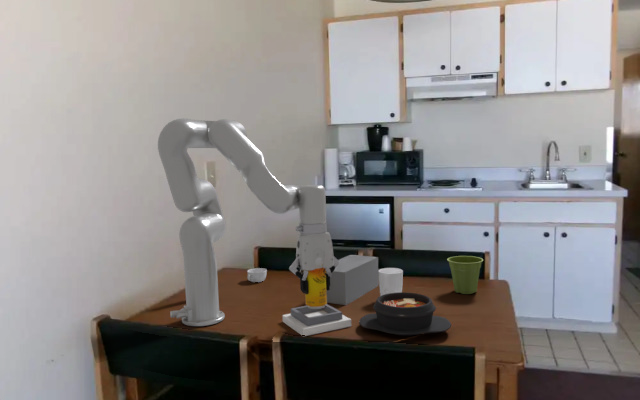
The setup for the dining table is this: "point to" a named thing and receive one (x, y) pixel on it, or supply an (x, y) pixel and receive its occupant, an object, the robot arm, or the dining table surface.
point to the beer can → (316, 286)
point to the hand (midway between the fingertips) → (315, 290)
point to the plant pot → (465, 273)
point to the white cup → (390, 280)
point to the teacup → (257, 274)
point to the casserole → (404, 315)
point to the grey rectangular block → (352, 279)
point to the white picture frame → (316, 320)
